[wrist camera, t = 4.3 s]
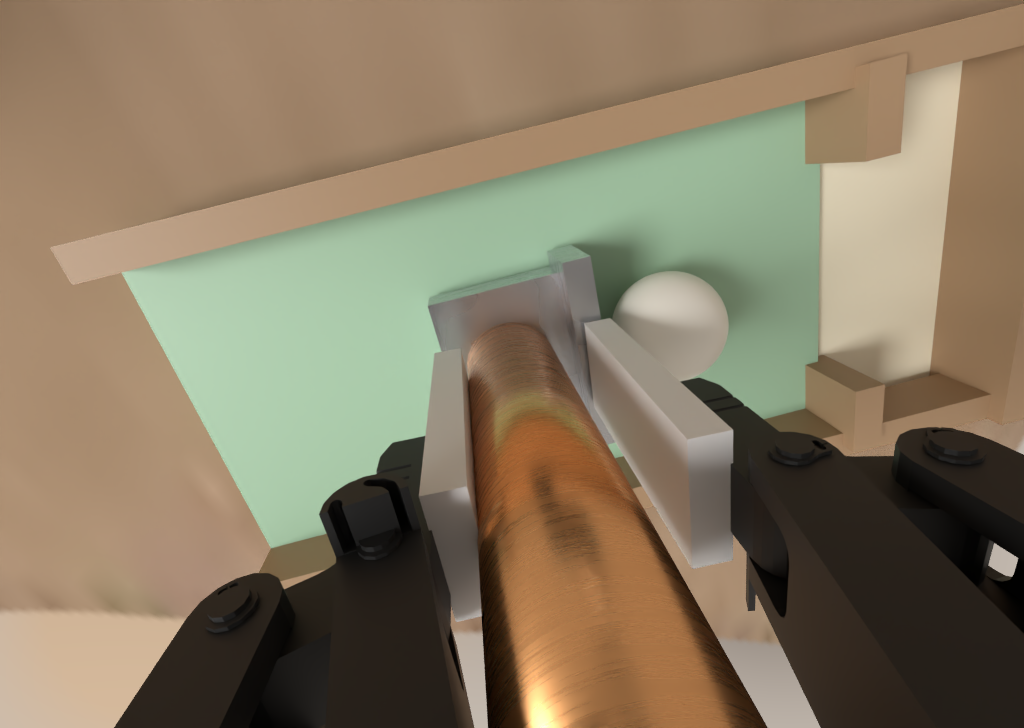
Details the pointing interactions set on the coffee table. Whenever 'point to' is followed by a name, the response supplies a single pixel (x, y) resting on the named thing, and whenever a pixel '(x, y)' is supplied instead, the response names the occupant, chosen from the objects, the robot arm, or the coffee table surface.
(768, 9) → the coffee table surface
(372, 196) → the pitch
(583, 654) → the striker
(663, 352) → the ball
